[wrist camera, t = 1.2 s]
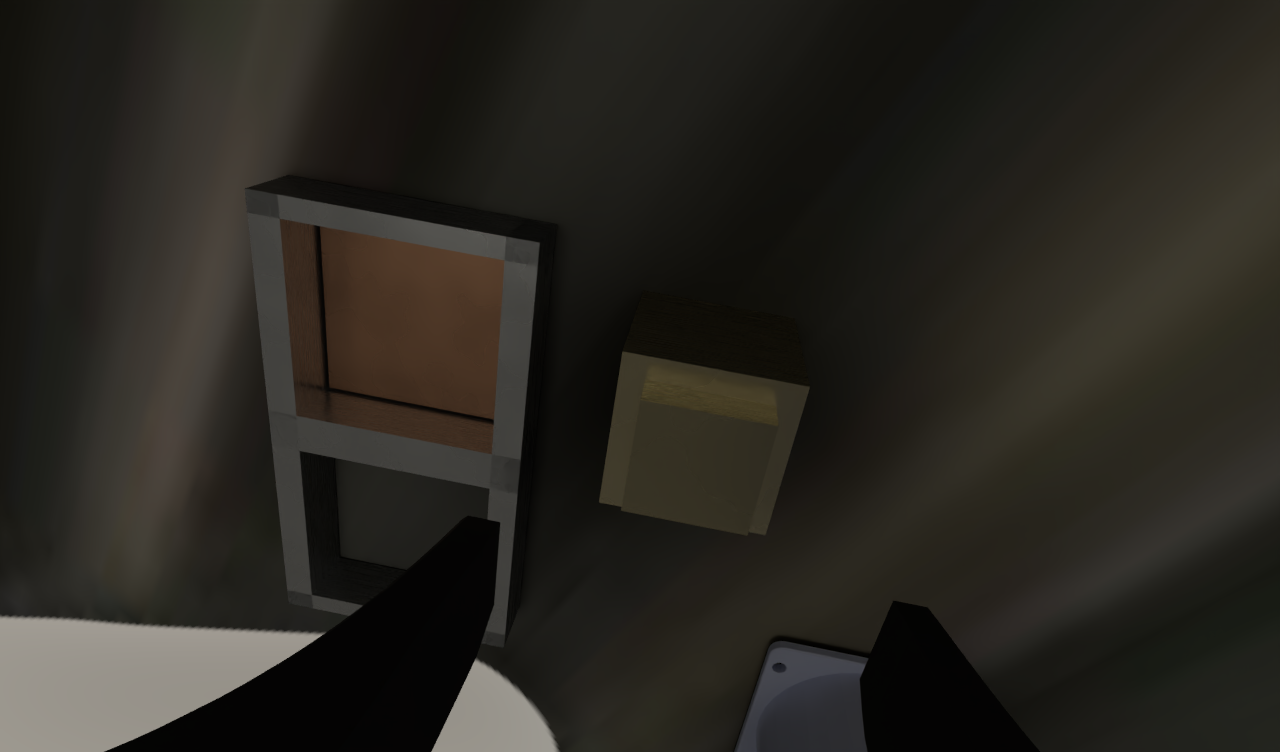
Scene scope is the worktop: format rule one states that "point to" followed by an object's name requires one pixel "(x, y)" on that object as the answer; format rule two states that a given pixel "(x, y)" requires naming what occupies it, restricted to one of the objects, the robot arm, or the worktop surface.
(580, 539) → the worktop surface
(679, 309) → the block
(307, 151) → the worktop surface
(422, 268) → the grey flat frame
